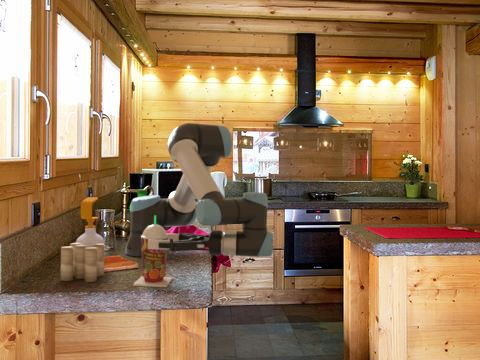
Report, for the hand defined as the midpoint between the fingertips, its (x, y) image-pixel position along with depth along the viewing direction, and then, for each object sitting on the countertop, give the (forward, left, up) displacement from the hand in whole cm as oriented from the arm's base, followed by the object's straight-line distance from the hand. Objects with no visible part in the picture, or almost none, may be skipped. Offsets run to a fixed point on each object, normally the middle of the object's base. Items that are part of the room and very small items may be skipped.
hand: (153, 240), depth 144 cm
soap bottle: (-14, -25, -13) cm, 31 cm away
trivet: (0, 0, -13) cm, 13 cm away
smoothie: (0, 0, -12) cm, 13 cm away
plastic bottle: (-64, -20, -13) cm, 69 cm away
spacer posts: (-3, -23, -13) cm, 26 cm away
